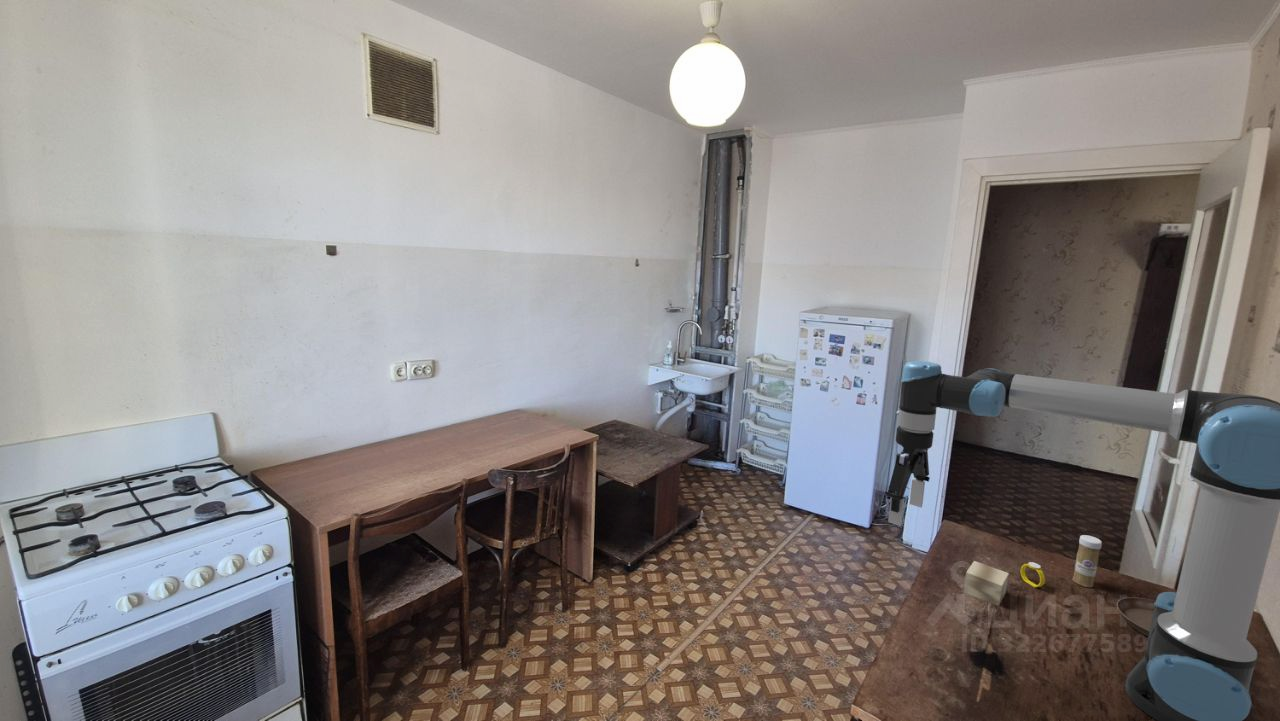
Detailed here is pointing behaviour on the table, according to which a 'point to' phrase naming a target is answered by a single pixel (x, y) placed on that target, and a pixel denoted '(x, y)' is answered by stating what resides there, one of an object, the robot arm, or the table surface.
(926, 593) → the table surface
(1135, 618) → the plant saucer
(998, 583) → the maple block
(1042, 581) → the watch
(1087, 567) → the sprinkles bottle
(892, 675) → the table surface
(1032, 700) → the table surface
